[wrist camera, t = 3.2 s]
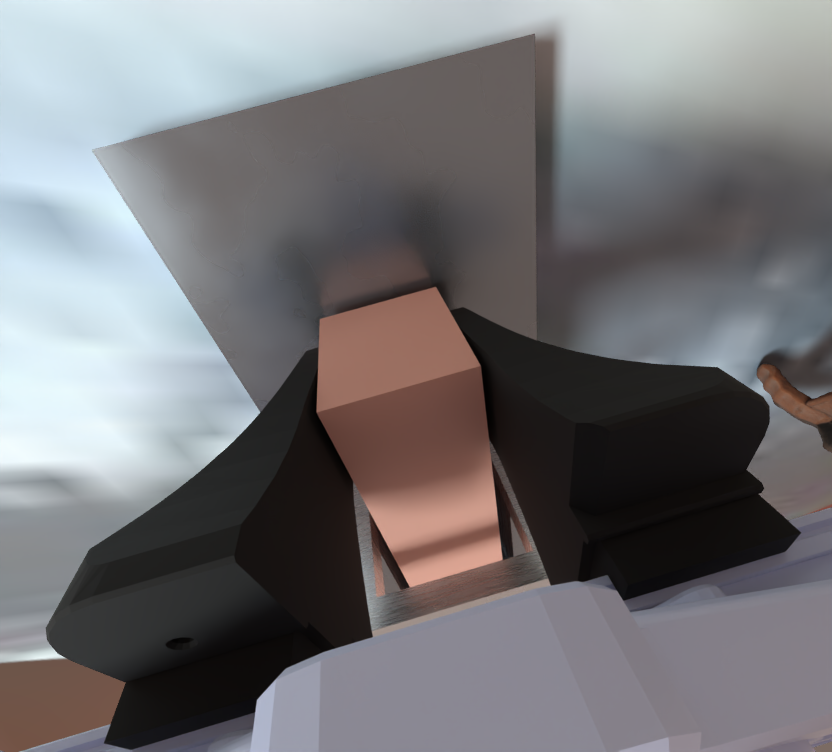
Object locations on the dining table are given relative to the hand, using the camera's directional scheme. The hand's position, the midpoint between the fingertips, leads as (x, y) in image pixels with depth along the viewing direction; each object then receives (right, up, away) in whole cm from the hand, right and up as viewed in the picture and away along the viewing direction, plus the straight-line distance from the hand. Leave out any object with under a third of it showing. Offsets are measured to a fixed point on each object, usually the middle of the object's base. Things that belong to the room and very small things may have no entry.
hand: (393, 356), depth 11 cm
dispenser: (0, -1, +3) cm, 4 cm away
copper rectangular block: (+1, -3, +3) cm, 5 cm away
